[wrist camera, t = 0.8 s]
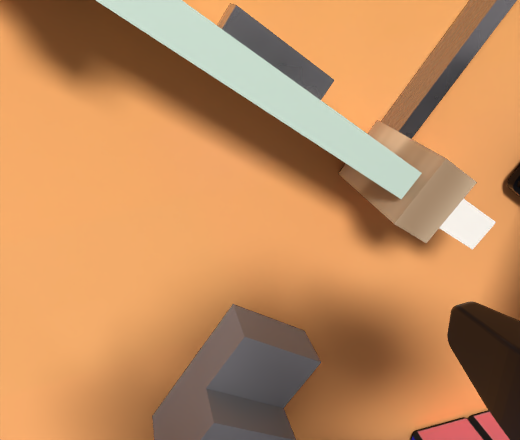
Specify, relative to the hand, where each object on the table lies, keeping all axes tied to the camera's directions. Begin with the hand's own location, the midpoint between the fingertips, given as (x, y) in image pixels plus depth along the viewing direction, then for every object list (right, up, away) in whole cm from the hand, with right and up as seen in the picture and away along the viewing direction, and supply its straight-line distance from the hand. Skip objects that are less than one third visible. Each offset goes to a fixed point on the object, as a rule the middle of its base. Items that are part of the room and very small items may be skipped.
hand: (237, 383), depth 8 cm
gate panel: (-1, +9, +9) cm, 13 cm away
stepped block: (-1, -6, +17) cm, 18 cm away
